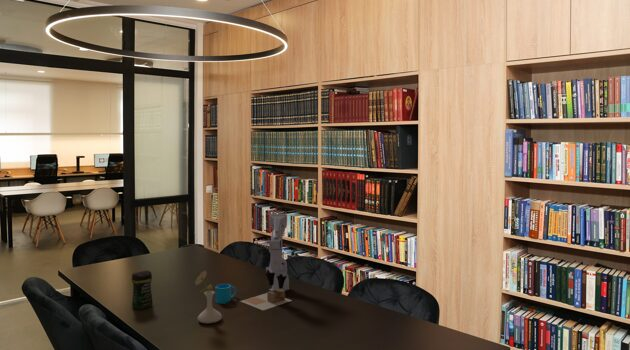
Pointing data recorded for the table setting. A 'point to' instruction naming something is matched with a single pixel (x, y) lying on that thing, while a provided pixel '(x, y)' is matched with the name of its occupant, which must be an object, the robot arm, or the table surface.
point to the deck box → (276, 296)
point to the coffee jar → (142, 290)
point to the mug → (224, 293)
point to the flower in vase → (208, 303)
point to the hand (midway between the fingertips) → (276, 286)
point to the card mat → (263, 302)
